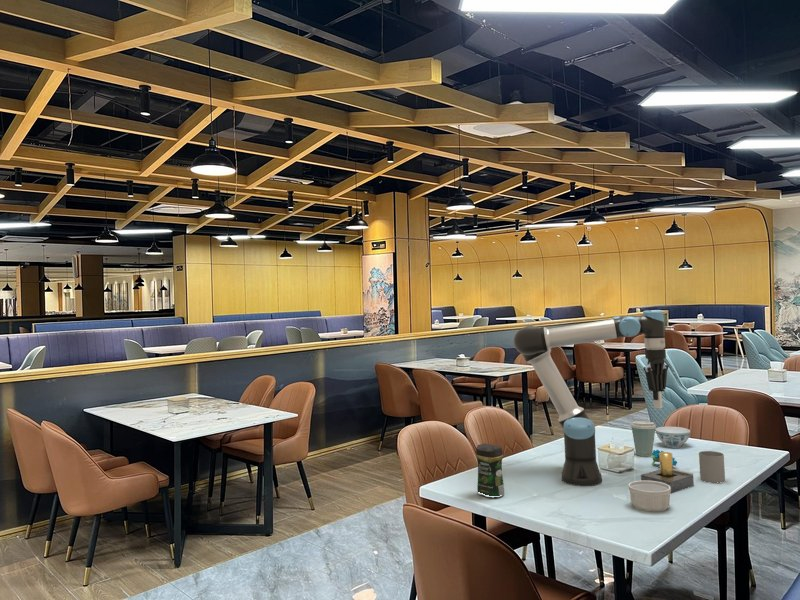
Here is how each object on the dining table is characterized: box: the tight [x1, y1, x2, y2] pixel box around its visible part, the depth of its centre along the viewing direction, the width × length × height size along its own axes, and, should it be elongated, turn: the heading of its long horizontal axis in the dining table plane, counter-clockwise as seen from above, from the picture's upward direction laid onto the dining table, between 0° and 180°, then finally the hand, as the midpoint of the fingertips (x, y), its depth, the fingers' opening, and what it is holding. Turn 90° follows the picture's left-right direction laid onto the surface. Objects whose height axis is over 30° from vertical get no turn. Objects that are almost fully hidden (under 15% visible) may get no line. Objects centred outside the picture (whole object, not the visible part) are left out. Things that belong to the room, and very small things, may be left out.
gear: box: [651, 449, 678, 469], centre depth 241 cm, size 11×6×10 cm
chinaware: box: [655, 426, 691, 448], centre depth 275 cm, size 15×15×8 cm
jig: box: [640, 468, 695, 494], centre depth 216 cm, size 14×12×5 cm
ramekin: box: [627, 480, 671, 513], centre depth 195 cm, size 13×13×7 cm
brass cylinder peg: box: [659, 451, 674, 478], centre depth 216 cm, size 4×4×12 cm
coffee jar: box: [475, 443, 505, 496], centre depth 214 cm, size 10×8×19 cm
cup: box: [698, 450, 726, 484], centre depth 221 cm, size 8×8×10 cm
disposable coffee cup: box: [630, 420, 657, 458], centre depth 261 cm, size 11×11×15 cm
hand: (658, 407), depth 231 cm, fingers closed
